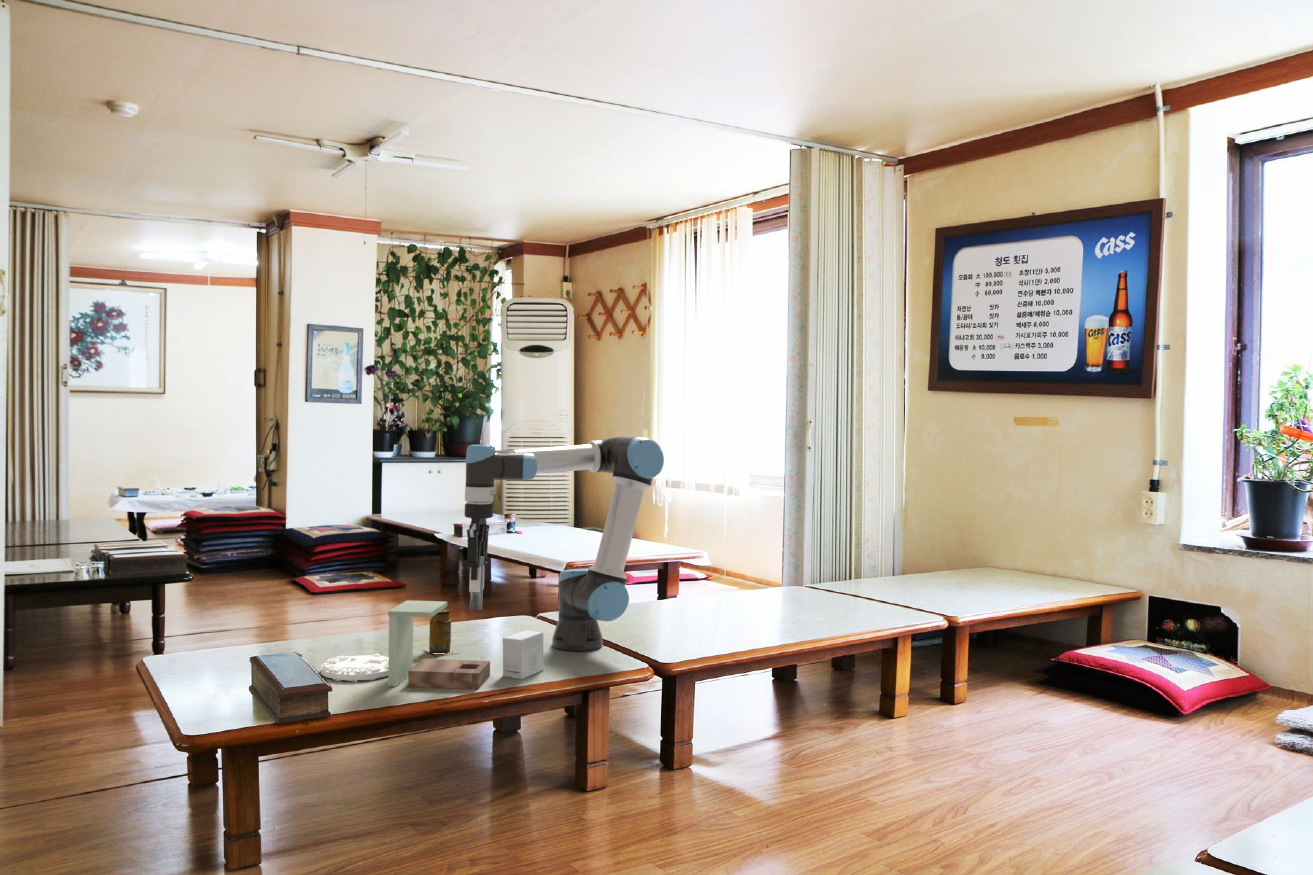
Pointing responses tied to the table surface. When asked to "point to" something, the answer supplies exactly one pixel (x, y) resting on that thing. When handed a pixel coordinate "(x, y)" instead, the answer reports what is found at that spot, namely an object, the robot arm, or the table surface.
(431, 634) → the condiment
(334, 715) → the table surface
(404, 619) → the pale green angled bracket
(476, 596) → the peg
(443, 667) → the socket block
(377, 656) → the white round plaque
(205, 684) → the table surface
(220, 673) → the table surface
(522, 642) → the skincare box
